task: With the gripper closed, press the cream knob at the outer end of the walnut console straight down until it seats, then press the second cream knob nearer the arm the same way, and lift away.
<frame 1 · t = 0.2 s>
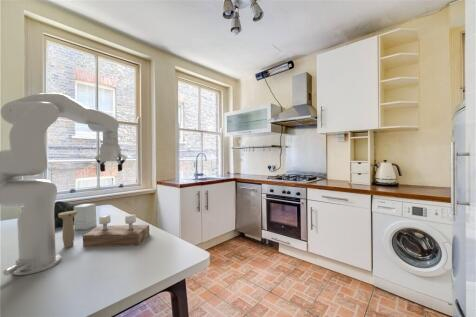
hand: (111, 171, 118), 31 cm above the table, tool pointing down, fingers open, 9 cm apart
knob a: (130, 223, 95), point 8 cm above the table, slide at 0.0 cm
console: (118, 240, 95), on the table
knob b: (105, 224, 95), point 8 cm above the table, slide at 0.0 cm
handle: (68, 246, 90), on the table
squash: (62, 224, 120), on the table
supplement box: (85, 227, 114), on the table
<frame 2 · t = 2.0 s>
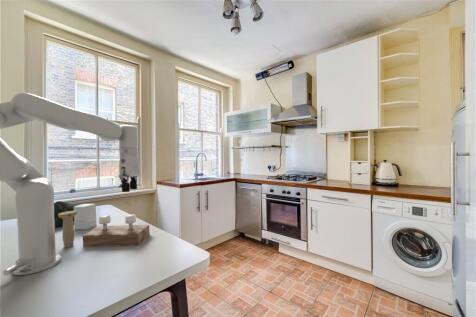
hand: (129, 190, 95), 24 cm above the table, tool pointing down, fingers open, 6 cm apart
nothing on the table moved.
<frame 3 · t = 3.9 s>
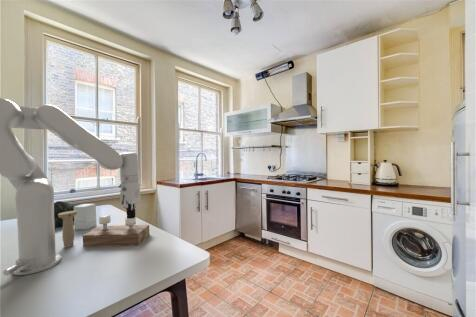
hand: (131, 217, 95), 11 cm above the table, tool pointing down, fingers closed
knob a: (130, 225, 95), point 7 cm above the table, slide at 1.1 cm, touching gripper
everything else where it was.
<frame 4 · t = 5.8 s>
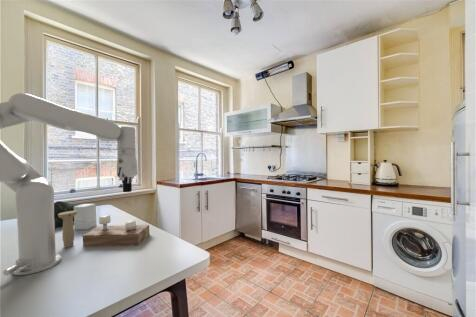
hand: (127, 191, 95), 23 cm above the table, tool pointing down, fingers closed
knob a: (130, 229, 95), point 5 cm above the table, slide at 2.8 cm
everything else where it was.
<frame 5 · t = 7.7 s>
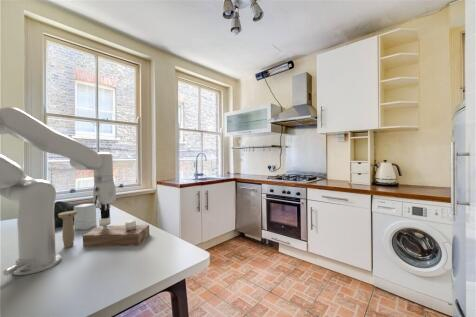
hand: (105, 217, 95), 11 cm above the table, tool pointing down, fingers closed
knob b: (105, 226, 95), point 7 cm above the table, slide at 0.8 cm, touching gripper
everything else where it was.
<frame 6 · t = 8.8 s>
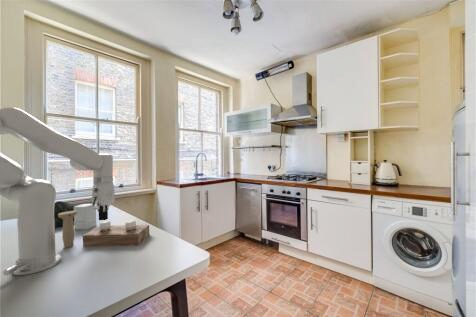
hand: (103, 219, 94), 10 cm above the table, tool pointing down, fingers closed
knob b: (105, 230, 95), point 5 cm above the table, slide at 2.8 cm
everything else where it was.
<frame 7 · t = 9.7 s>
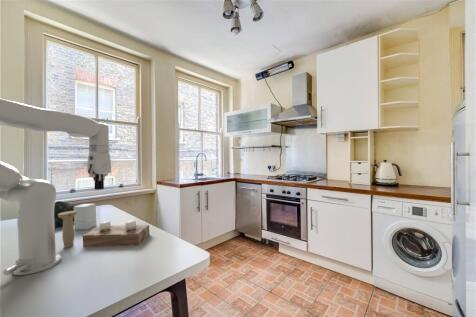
hand: (99, 189, 94), 24 cm above the table, tool pointing down, fingers closed
nothing on the table moved.
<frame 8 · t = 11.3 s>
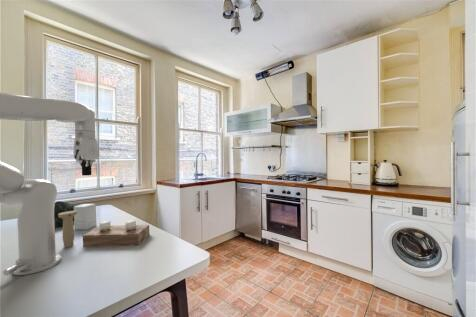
hand: (86, 175, 94), 31 cm above the table, tool pointing down, fingers closed
nothing on the table moved.
at the end: knob a slide at 2.8 cm; knob b slide at 2.8 cm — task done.
